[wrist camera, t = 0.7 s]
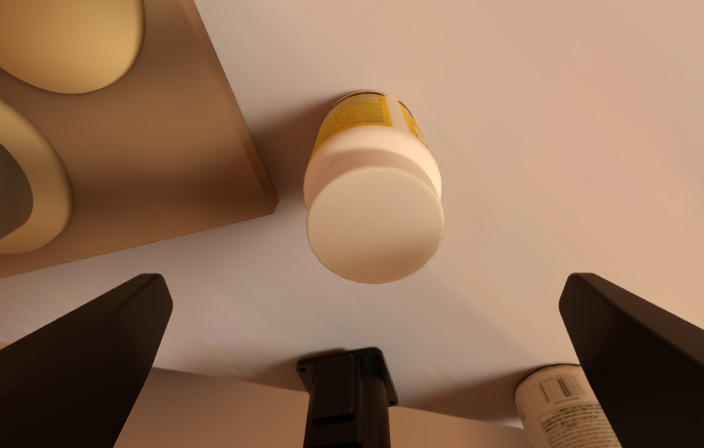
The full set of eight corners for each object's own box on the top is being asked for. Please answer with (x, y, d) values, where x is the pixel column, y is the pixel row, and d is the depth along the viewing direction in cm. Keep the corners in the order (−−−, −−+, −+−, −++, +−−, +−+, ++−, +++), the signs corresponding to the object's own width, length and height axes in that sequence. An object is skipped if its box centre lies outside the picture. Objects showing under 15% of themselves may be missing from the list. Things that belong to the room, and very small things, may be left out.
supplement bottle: (305, 160, 18) (267, 261, 10) (344, 69, 15) (329, 118, 8) (388, 197, 19) (405, 312, 11) (436, 117, 16) (494, 198, 9)
